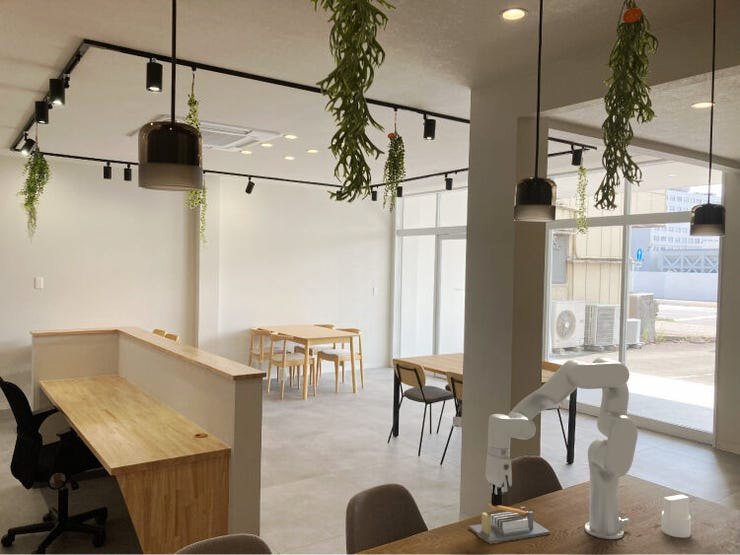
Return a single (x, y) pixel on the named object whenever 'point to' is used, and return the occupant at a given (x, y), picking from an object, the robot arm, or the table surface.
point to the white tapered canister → (676, 516)
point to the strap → (509, 509)
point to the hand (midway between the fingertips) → (496, 504)
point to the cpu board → (495, 536)
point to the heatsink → (509, 523)
